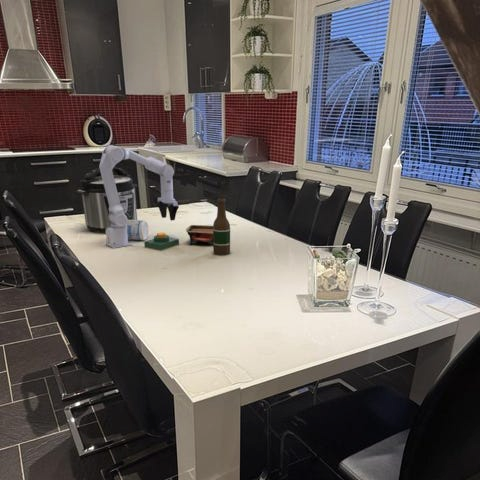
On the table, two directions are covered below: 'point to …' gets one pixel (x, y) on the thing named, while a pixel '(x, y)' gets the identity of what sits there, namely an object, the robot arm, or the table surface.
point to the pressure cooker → (98, 202)
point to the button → (161, 235)
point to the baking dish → (200, 233)
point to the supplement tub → (137, 230)
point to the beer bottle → (221, 230)
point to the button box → (161, 243)
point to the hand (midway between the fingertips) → (168, 218)
